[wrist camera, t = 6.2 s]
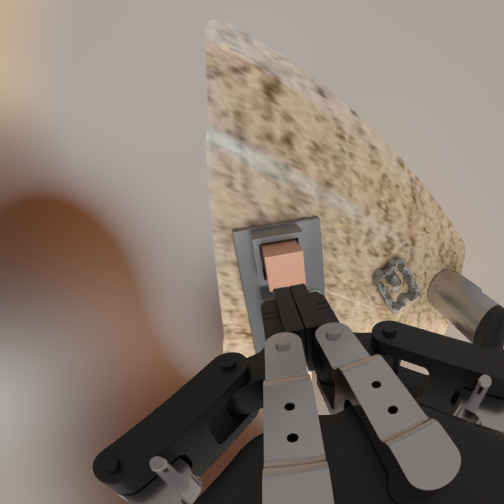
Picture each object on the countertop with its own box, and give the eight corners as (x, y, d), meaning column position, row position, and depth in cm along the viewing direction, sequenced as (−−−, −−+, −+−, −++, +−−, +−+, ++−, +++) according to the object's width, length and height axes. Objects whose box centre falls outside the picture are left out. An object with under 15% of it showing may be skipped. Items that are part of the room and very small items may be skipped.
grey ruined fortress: (412, 288, 51) (422, 297, 47) (386, 309, 52) (395, 319, 49) (397, 251, 48) (408, 258, 44) (368, 273, 49) (377, 282, 45)
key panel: (316, 216, 45) (327, 225, 39) (324, 347, 54) (331, 366, 48) (232, 230, 45) (232, 241, 39) (258, 360, 54) (260, 380, 49)
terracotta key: (293, 237, 41) (302, 250, 35) (297, 268, 43) (305, 285, 37) (260, 243, 41) (264, 257, 35) (265, 273, 43) (269, 291, 37)
